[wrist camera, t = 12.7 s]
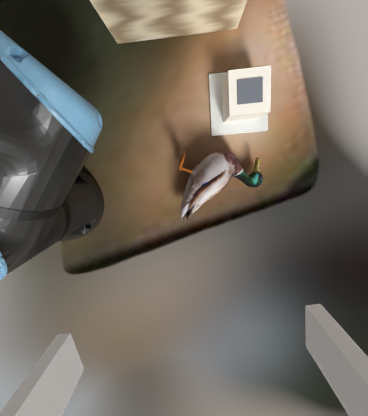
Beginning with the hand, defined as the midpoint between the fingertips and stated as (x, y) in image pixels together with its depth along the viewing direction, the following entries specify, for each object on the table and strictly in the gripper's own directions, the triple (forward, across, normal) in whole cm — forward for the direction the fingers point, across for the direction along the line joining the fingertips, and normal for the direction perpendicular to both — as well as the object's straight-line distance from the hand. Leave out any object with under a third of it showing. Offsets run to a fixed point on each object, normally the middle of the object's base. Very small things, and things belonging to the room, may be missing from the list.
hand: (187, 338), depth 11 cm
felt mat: (+30, +12, +17) cm, 36 cm away
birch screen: (+30, +3, +30) cm, 43 cm away
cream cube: (+29, +12, +17) cm, 36 cm away
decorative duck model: (+30, +5, +4) cm, 31 cm away
